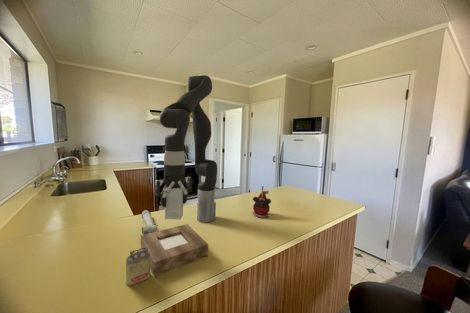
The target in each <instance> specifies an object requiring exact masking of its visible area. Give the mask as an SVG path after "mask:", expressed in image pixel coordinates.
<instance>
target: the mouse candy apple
mask: <svg viewBox="0 0 470 313" xmlns="http://www.w3.org/2000/svg"><path fill="white" fill-rule="evenodd" d="M268 194H269V190H264V185H262V186H261V193H260V194H259V195H258V196H254V197H252V201H253V202H254V204H253V206H252V209H253V211H252V214H253V215H254V216H255V217H257V218H267V217H269V216H270V209H271V208H270V204H271V203H272V199H271V198H267V196H266V195H268Z"/></svg>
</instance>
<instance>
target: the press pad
mask: <svg viewBox="0 0 470 313" xmlns="http://www.w3.org/2000/svg"><path fill="white" fill-rule="evenodd" d="M159 242H160V243H161V245H162V246H163V248H164V250H167V249H170V248H173V247H176V246H179V245H183V244H186V243H188V242H187V241H186V240H185V239H184V237H183V236H182V235H181V234H179V235H175V236H172V237H168V238H164V239H161V240H159Z"/></svg>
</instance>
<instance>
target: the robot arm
mask: <svg viewBox="0 0 470 313" xmlns="http://www.w3.org/2000/svg"><path fill="white" fill-rule="evenodd" d="M212 91H213V82H212V79H211V77H210V76H208V75H205V74H202V75H192V76H189V77H188V78H187V92H185V93H184V94H182V95H181V96H180V97H179V98H178V99H177V100H176V101H175V102H174V103H171V104H169V105H168V106H165V108H163V109H162V110H161V112H160V114H159V122H160V124H161V125H162V126H163V128H166V129H176V131H175V132H174V133H173V134H172V133H171V134H168V135H166V136H165V138H164V155H163V178H162V179H159V180H158V179H155V180H154V194H155V196H156V197H157V198H160V205H161V207H163V208H165V207H166V195H167V193H169V191H170V189H173V188H180V187H181V188H182V191H183V205H185V204H186V203H187V202H188V194H189V193H192V192H193V177H191V176H187V177H186V176H185V172H186V171H185V168H186V167H185V166H186V156H185V140H186V136H187V132H188V129H189V126H190V121H192V130H193V131H192V132H193V139H194V169H195V170H194V171H195V173H196V174H197V176H200V177H204V181H201V182H199V183H198V185H197V203H196V204H197V210H196V220H197V221H198V222H200V223H211V222H213V221H214V220H216V213H217V212H216V210H217V208H216V206H217V202H216V201H215V198H216V197H215V196H216V195H215V194H216V185H217V177H218V163H217V162H216V161H215V160H212V159H207V158H206V152H207V151H206V149H207V147H208V144H209V142H210V141H211V138H212V123H211V119H210V118H209V117H208V115H207V114H206V112H205V111H204V109H203V108H202V105H201V101H203V100H205V99H206V98H207V97H208V96H209V95H210V94H211V93H212ZM190 115H191V116H192V119H191V117H190ZM185 182H186V187H185V186H184V183H185ZM162 184H164V186H163V188H162V191H161V186H162ZM165 188H167V189H165Z"/></svg>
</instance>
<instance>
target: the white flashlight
mask: <svg viewBox="0 0 470 313" xmlns="http://www.w3.org/2000/svg"><path fill="white" fill-rule="evenodd" d="M141 219H143V221H144V224H145V225H142V226H141V234H142V235H145V234H149V233H153V232H157V231H158V228H157V225H155V223H154V221H153V217H152V213H151V212H150V211H149V210H148V209H145V210H143V211H142V212H141Z"/></svg>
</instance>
